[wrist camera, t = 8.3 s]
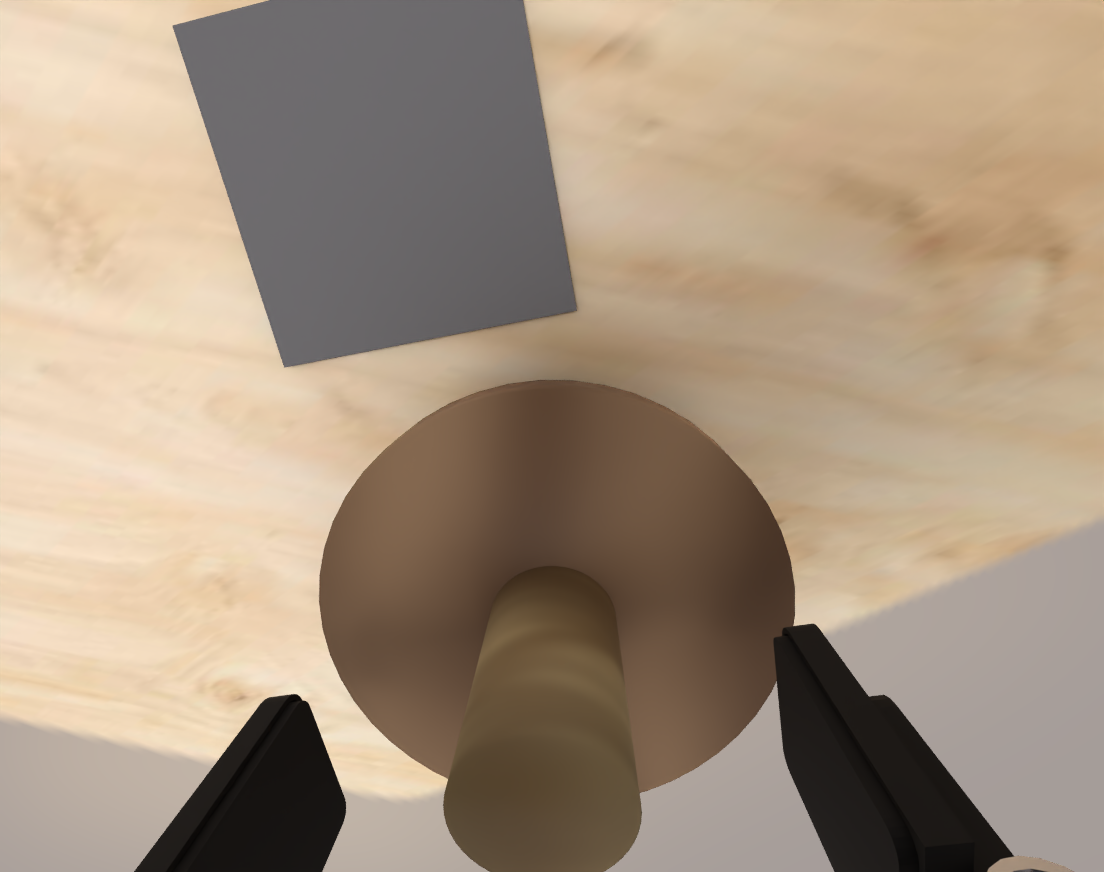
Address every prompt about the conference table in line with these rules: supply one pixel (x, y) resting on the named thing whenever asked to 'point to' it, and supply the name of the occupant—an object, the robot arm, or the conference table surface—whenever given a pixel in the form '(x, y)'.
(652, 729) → the lid
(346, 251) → the mat
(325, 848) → the robot arm
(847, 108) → the conference table surface
